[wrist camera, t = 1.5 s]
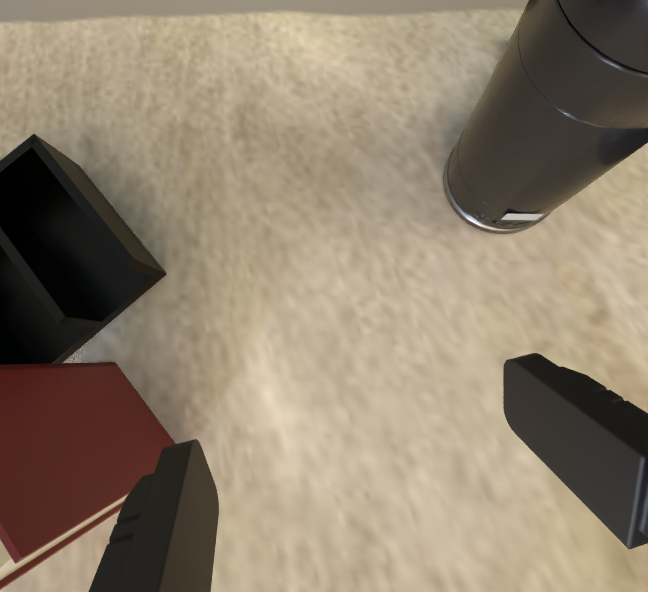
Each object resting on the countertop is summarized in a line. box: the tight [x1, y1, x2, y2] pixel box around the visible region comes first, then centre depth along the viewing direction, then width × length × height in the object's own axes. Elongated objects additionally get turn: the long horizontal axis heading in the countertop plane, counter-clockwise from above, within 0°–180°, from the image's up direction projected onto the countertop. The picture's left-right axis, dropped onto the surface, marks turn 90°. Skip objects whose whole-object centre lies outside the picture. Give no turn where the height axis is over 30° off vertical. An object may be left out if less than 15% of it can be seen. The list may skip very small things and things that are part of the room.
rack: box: [0, 134, 166, 365], centre depth 30 cm, size 14×20×5 cm
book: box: [0, 362, 175, 590], centre depth 23 cm, size 10×4×15 cm, turn 41°
